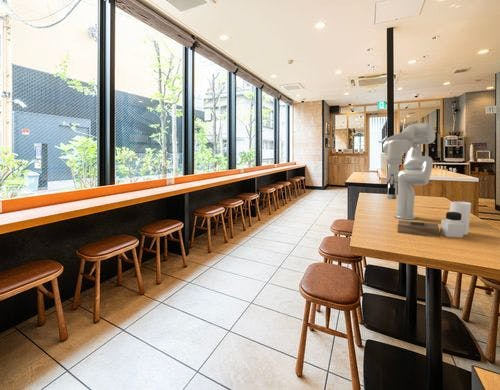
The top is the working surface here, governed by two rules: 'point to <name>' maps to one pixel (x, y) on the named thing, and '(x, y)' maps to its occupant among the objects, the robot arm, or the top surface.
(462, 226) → the medicine bottle
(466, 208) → the cup
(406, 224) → the block
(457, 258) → the top surface
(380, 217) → the top surface
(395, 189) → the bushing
